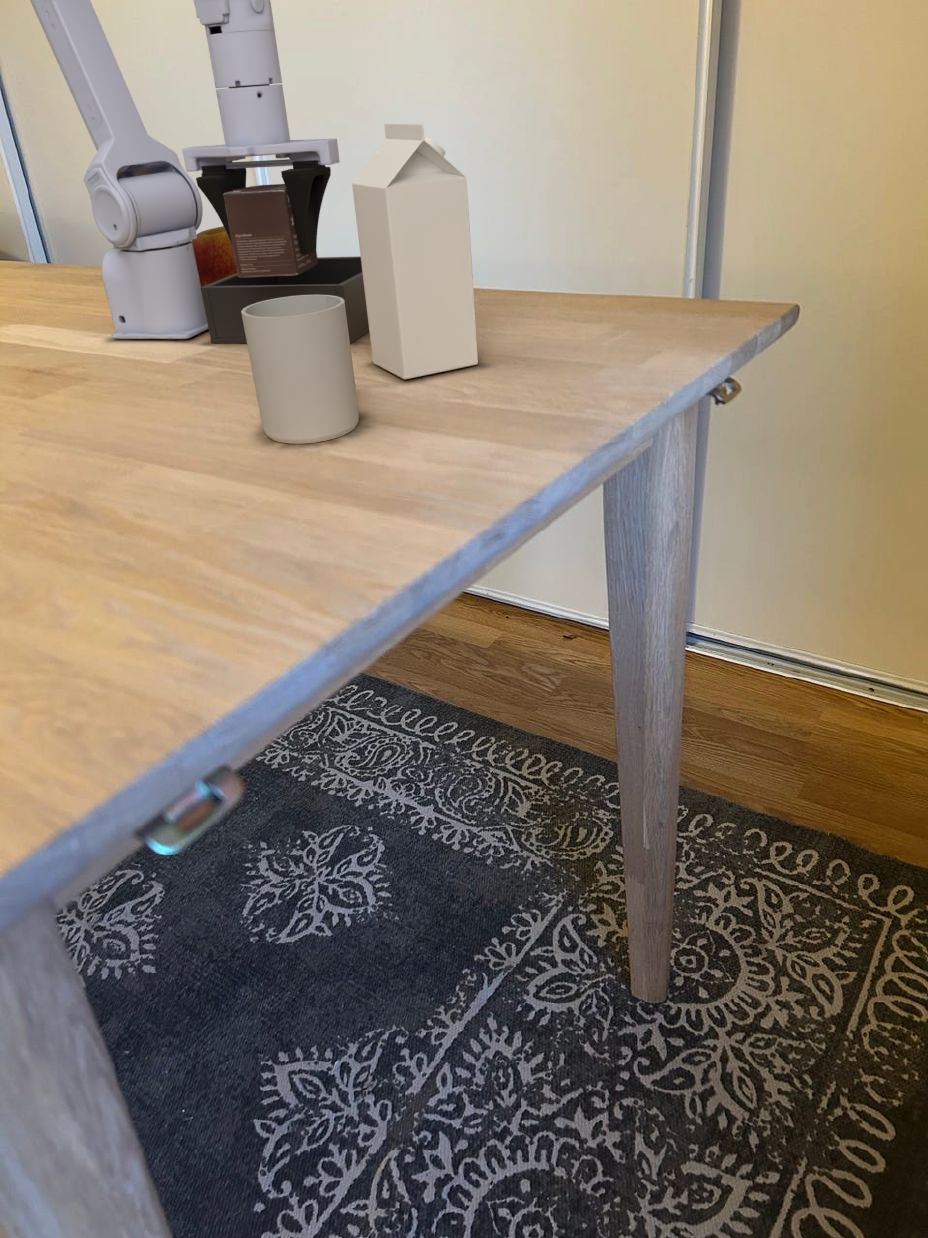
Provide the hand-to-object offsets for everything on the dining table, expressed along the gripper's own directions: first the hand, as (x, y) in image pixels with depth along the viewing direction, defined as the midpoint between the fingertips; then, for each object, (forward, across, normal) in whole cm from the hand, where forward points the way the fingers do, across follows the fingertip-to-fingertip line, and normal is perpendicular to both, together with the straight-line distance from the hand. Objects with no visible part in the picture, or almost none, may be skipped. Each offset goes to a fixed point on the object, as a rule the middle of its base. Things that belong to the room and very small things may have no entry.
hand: (275, 252), depth 88 cm
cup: (+9, +12, -22) cm, 26 cm away
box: (+2, 0, 0) cm, 2 cm away
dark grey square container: (+9, -2, +9) cm, 13 cm away
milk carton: (+9, +16, -6) cm, 19 cm away
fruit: (+9, -20, +24) cm, 33 cm away
